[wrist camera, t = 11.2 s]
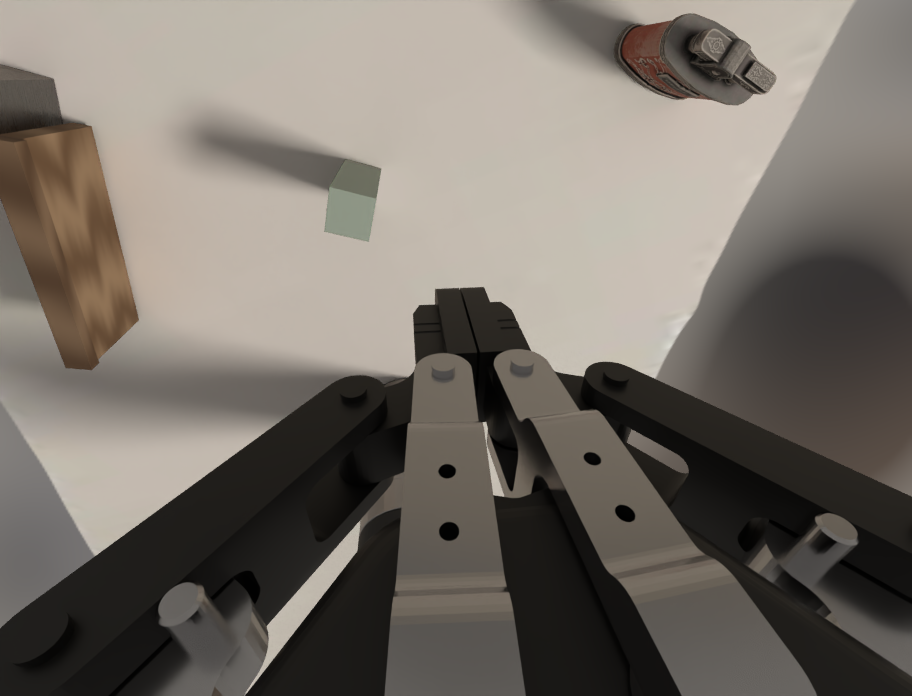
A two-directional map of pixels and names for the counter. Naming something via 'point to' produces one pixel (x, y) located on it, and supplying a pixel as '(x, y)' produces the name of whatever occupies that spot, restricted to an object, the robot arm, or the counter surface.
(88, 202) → the gate
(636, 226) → the counter surface
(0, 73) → the hinge post
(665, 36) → the lighter
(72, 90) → the counter surface
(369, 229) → the latch post
